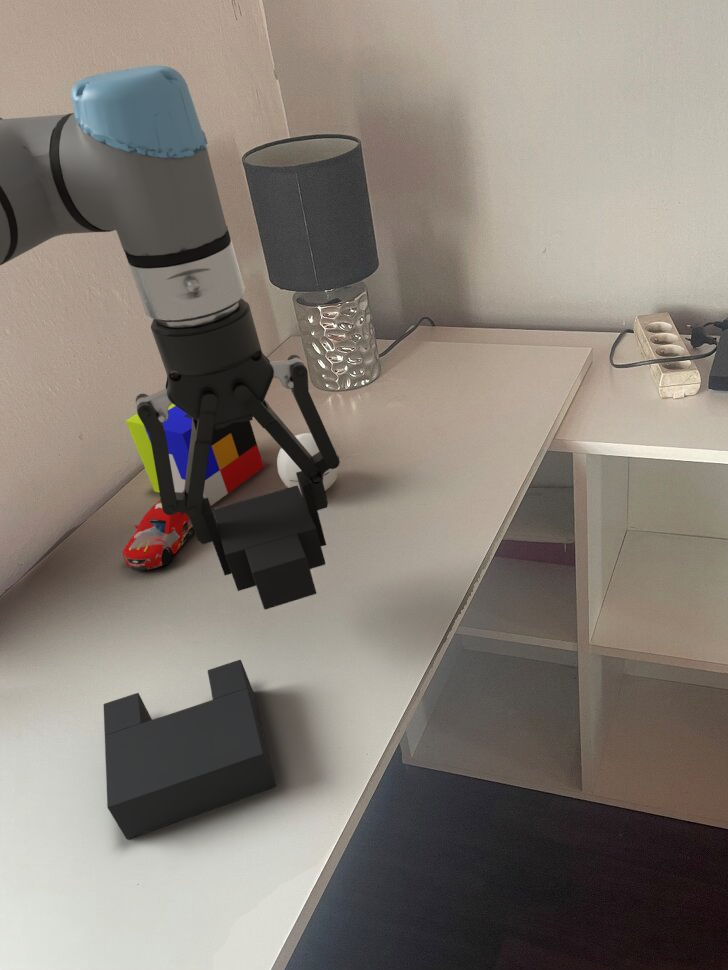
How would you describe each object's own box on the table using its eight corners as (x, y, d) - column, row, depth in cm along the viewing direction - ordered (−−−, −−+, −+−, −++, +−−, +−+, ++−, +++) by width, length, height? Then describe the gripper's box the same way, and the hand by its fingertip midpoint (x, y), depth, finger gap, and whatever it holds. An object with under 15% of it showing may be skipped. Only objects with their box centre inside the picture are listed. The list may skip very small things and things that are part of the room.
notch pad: (120, 735, 76) (103, 703, 74) (253, 691, 78) (240, 658, 76) (126, 839, 67) (107, 807, 65) (276, 786, 69) (263, 753, 67)
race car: (159, 577, 95) (146, 548, 92) (119, 573, 97) (105, 544, 94) (219, 510, 104) (208, 482, 102) (181, 507, 106) (169, 479, 103)
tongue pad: (225, 544, 82) (212, 509, 79) (307, 520, 83) (297, 485, 81) (244, 616, 73) (231, 579, 70) (335, 588, 74) (326, 550, 72)
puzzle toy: (208, 507, 105) (182, 434, 99) (154, 491, 110) (125, 420, 104) (264, 467, 111) (242, 395, 105) (210, 453, 116) (186, 384, 110)
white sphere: (279, 510, 102) (263, 456, 98) (292, 477, 108) (277, 424, 104) (362, 503, 101) (349, 448, 97) (370, 470, 107) (358, 416, 102)
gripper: (56, 360, 60) (163, 610, 74) (343, 290, 64) (392, 540, 78) (57, 325, 66) (156, 563, 80) (320, 263, 70) (370, 501, 84)
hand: (273, 552), depth 79 cm, fingers closed on tongue pad, 8 cm apart
